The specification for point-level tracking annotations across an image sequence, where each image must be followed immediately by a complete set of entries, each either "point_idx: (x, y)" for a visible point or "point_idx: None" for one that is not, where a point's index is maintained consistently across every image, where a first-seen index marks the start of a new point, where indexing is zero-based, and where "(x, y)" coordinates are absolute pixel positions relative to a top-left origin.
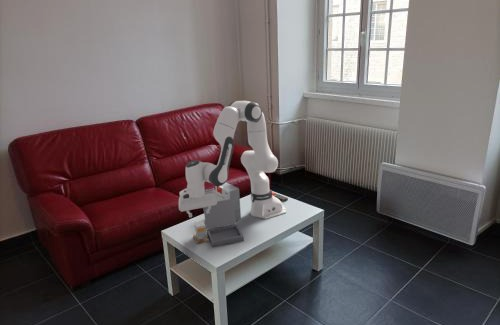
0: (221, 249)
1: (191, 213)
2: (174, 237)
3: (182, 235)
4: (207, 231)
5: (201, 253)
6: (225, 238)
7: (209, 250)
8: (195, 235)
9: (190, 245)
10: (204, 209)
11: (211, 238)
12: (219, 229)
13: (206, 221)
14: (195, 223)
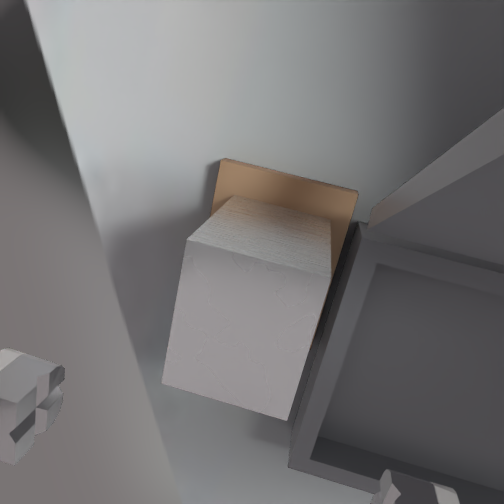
0: (335, 493)
1: (14, 427)
2: (47, 52)
3: (130, 60)
4: (353, 263)
5: (184, 444)
6: (451, 422)
7: (251, 449)
8: (233, 188)
9: (146, 295)
10: (494, 177)
11: (314, 415)
12: (501, 291)
13: (402, 221)
14: (192, 276)
